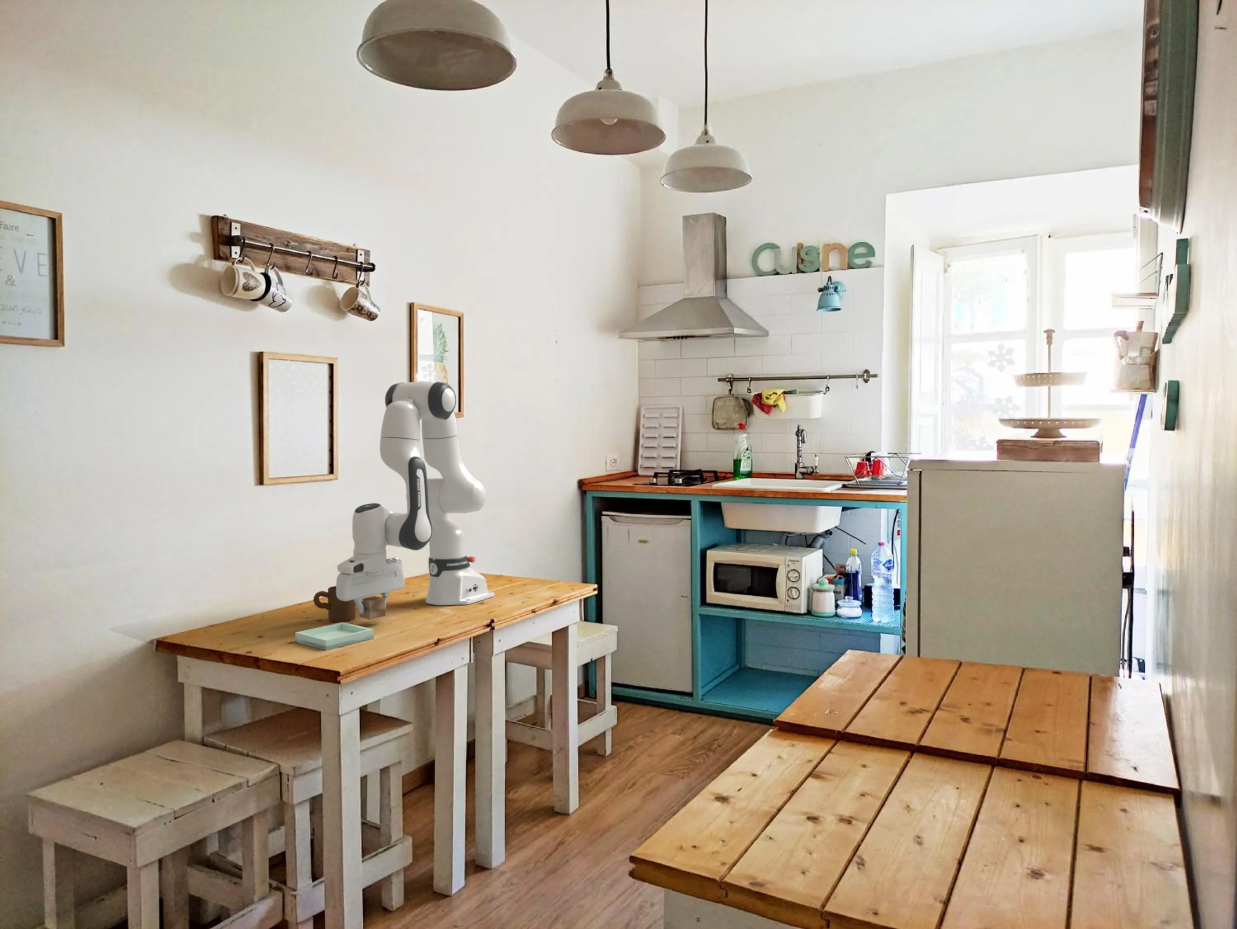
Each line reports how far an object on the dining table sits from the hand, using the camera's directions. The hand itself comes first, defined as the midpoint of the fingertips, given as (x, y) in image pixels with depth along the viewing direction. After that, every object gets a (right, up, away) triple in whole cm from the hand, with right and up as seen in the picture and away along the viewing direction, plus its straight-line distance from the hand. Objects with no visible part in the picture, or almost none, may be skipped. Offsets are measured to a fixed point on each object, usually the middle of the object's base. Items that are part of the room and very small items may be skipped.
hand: (372, 610), depth 241 cm
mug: (-12, -4, +6) cm, 14 cm away
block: (0, -2, 0) cm, 2 cm away
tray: (-5, -5, -17) cm, 18 cm away
